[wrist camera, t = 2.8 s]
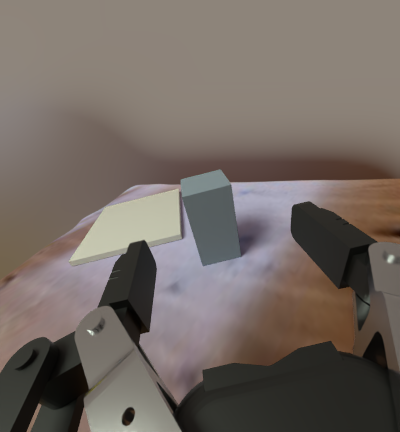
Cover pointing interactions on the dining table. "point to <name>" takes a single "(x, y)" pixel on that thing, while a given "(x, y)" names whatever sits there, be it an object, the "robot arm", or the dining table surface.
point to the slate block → (211, 216)
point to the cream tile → (132, 227)
